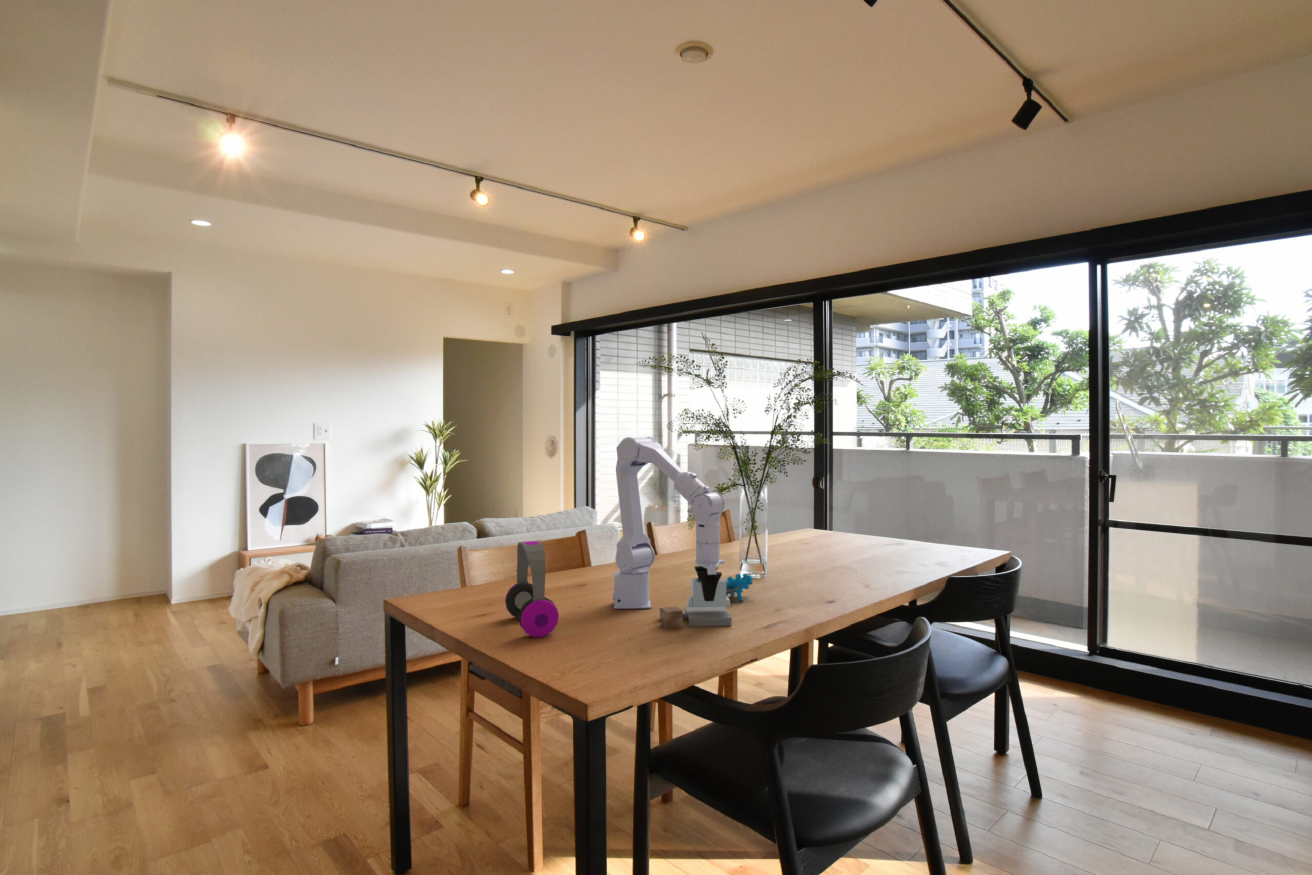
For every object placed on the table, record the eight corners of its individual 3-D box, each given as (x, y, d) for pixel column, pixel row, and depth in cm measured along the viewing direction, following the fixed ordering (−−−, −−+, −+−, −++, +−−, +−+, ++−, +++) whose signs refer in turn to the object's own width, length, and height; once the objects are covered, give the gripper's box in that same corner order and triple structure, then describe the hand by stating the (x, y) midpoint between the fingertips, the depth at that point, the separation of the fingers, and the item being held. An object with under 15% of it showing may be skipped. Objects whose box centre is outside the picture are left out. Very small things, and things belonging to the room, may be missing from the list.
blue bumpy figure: (747, 587, 191) (754, 568, 184) (755, 606, 187) (762, 587, 180) (710, 595, 188) (716, 576, 181) (717, 614, 185) (723, 595, 177)
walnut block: (666, 629, 157) (666, 612, 157) (661, 624, 161) (661, 607, 161) (682, 627, 159) (682, 610, 159) (676, 623, 162) (676, 606, 162)
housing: (688, 607, 162) (688, 582, 162) (686, 602, 166) (686, 578, 166) (730, 606, 163) (730, 581, 163) (727, 602, 167) (727, 577, 167)
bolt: (660, 621, 163) (660, 609, 163) (659, 618, 166) (659, 606, 166) (685, 620, 164) (685, 609, 164) (683, 617, 167) (683, 606, 167)
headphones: (503, 617, 167) (503, 536, 166) (538, 613, 170) (538, 533, 170) (521, 641, 147) (521, 549, 147) (561, 637, 151) (561, 547, 151)
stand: (689, 626, 159) (689, 618, 159) (684, 614, 169) (684, 606, 169) (731, 625, 160) (731, 617, 160) (724, 614, 170) (724, 606, 170)
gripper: (729, 547, 157) (729, 605, 157) (719, 537, 172) (719, 590, 172) (699, 547, 157) (698, 606, 157) (691, 537, 171) (691, 591, 171)
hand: (707, 598), depth 164 cm, fingers closed on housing, 4 cm apart
